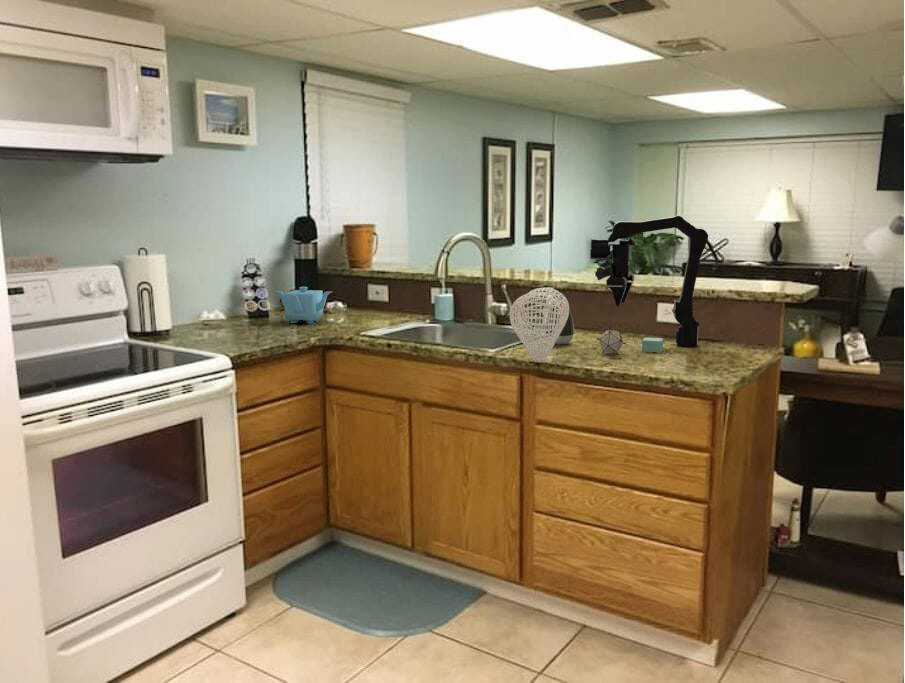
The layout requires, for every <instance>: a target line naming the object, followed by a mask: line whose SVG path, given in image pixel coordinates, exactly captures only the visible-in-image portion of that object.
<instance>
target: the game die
mask: <svg viewBox="0 0 905 683" xmlns="http://www.w3.org/2000/svg"><path fill="white" fill-rule="evenodd" d="M621 330H622V329H618V330H611V329H607V328H606V327H605V328H604V332H603V333H602V335H601V336H600V338H599V337H597V338H596V340H598V341H599V343H600V346H601V349H602V351H601V354H604V352H606V353H616V355H619V350H620V349H621V348H622V346H623V345H627V343H626V342H624V341H623V337H622V335H621Z"/></svg>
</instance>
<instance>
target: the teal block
mask: <svg viewBox="0 0 905 683" xmlns="http://www.w3.org/2000/svg"><path fill="white" fill-rule="evenodd" d="M663 348H664V338H661V337H643V339H642V343H641V352H642V353H652V352H658V353H657V354H661V353H662V351H664V350H663Z"/></svg>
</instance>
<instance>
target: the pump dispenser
mask: <svg viewBox="0 0 905 683" xmlns="http://www.w3.org/2000/svg"><path fill="white" fill-rule="evenodd" d="M553 302H554V301H553ZM558 302H559V301H558ZM554 303H555V302H554ZM561 303H562V302H561ZM553 305H555V304H553ZM560 305H561V304H560ZM563 306H564V305H563ZM554 307H555V306H554ZM561 307H562V306H561ZM556 308H557V309H558V307H556ZM564 308H565V307H564ZM566 309H567V307H566ZM564 310H565V309H564ZM551 311H552V307H551ZM553 312H554V308H553ZM556 312H557V310H556ZM563 313H564V311H563ZM553 315H554V314H553V313H552V318H553ZM565 316H566V315H565ZM548 318H549V313H548ZM550 318H551V313H550ZM556 318H557V314H556ZM559 319H560V315H559ZM548 320H549V319H548ZM556 321H557V320H555V324H556ZM550 323H551V319H550ZM552 323H553V320H552ZM552 323H551V324H552ZM558 323H559V321H558ZM545 324H548V323H547V319H545ZM553 326H554V325H553ZM558 327H559V326H558ZM554 328H555V326H554ZM545 329H546V326H545ZM547 329H548V326H547ZM549 329H550V326H549ZM551 329H552V326H551ZM550 333H552V330H551V331H550ZM554 333H555V332H554ZM546 334H548V331H546ZM574 335H575V325H574V319H573V316H572V312H571V309H570V308H569V316H568V319H567V321H566V324H565V326H564V328H563V329H562V331H561V333H560V335H559V337H558V339H557V340H556V342H555V344H565V345H568V344H569V343H570V342H572V340H573V338H574ZM550 336H551V335H550ZM545 337H546V338H548V336H545ZM552 337H553V336H552ZM554 339H555V338H554ZM548 340H549V339H548ZM551 341H552V340H551ZM555 344H554V345H555Z"/></svg>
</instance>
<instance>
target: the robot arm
mask: <svg viewBox="0 0 905 683" xmlns="http://www.w3.org/2000/svg"><path fill="white" fill-rule="evenodd" d="M674 228H676V230H678V231H680V232H681V233H682V234H683V235H685V236H686V237H687V248H688V249H687V250H688V251H687V252H688V254H687V261H686V264H685V270H684V276H683V280H682V281H683V282H682V286H681V292H680V295H679V298H678V299H673V307H672V309H671V312H672V313H673V317H674V319H675V321H676V322H677V323H678V324H679V325H680V326H678V330H677V331H676V336H675V337H676V338H675V339H676V340H675V343H676V346H678V347H689V348H690V347H694V348H697V347H698V346H699V342H698V341H699V340H698V338H699V325H700V324H699V322H698V320H697V319H696V318H695V317H694V316H693V315H694V304H693V303H694V302H693V296H694V291H695V287H696V280H697V276H698V272H699V265H700V261H701V256H702V254H703V252H704V250H705V248H706V247H707V246H706V245H707V243H708V240H709V233H708V232H707V231H706V230H705V229H703V228H700V227H698V228H697V227H695V226H694V225H693V224H691V223H690V222H689V221H687V220H686V219H684V217H682V216H681V215H674V216H671V217H663V218H657V219H651V220H644V221H624V220H623V221H622V220H621V221H617V222H615V224H614V225H613V226H612V232H611V233H610V235H609V236H608V237H607V239H598V238H597V239H596V238H592V239H591V240H590V257H589V258H590V260H607V259H608V257H610V256H611V255H612V256H611V259H612V260H611V262H610V263H609V266H608V267H605V268H604V267H603V266H600V267H598V268H596V271H594V273H595V275H594V276H595V277H596V279H597V281H600V280H604V279H605V278H607V279H606V282H605V284H606V285H605V286H607V288H608V289H610V290H611V291H612V294H613V299H614V303H615V306H616V307H620V305H621V303H622V304H625V303H626V300H627V298H628V295H629V294H630V290H631V288H632V285H633V284H634V281H635V275H634V273H632V272H630V265H631V261H630V247H631V246H635V245H636V243H635V242H634V241H633V239H632V238H631V237H633V236H635V235H638V234H642V233H647V232H648V233H650V232H655V231H662V230H669V229H674ZM627 238H628V240H627ZM619 239H620V240H619ZM625 239H626V240H625ZM618 240H619V241H618ZM616 241H618V243H615V242H616ZM611 247H612V254H611ZM697 345H698V346H697Z"/></svg>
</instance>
